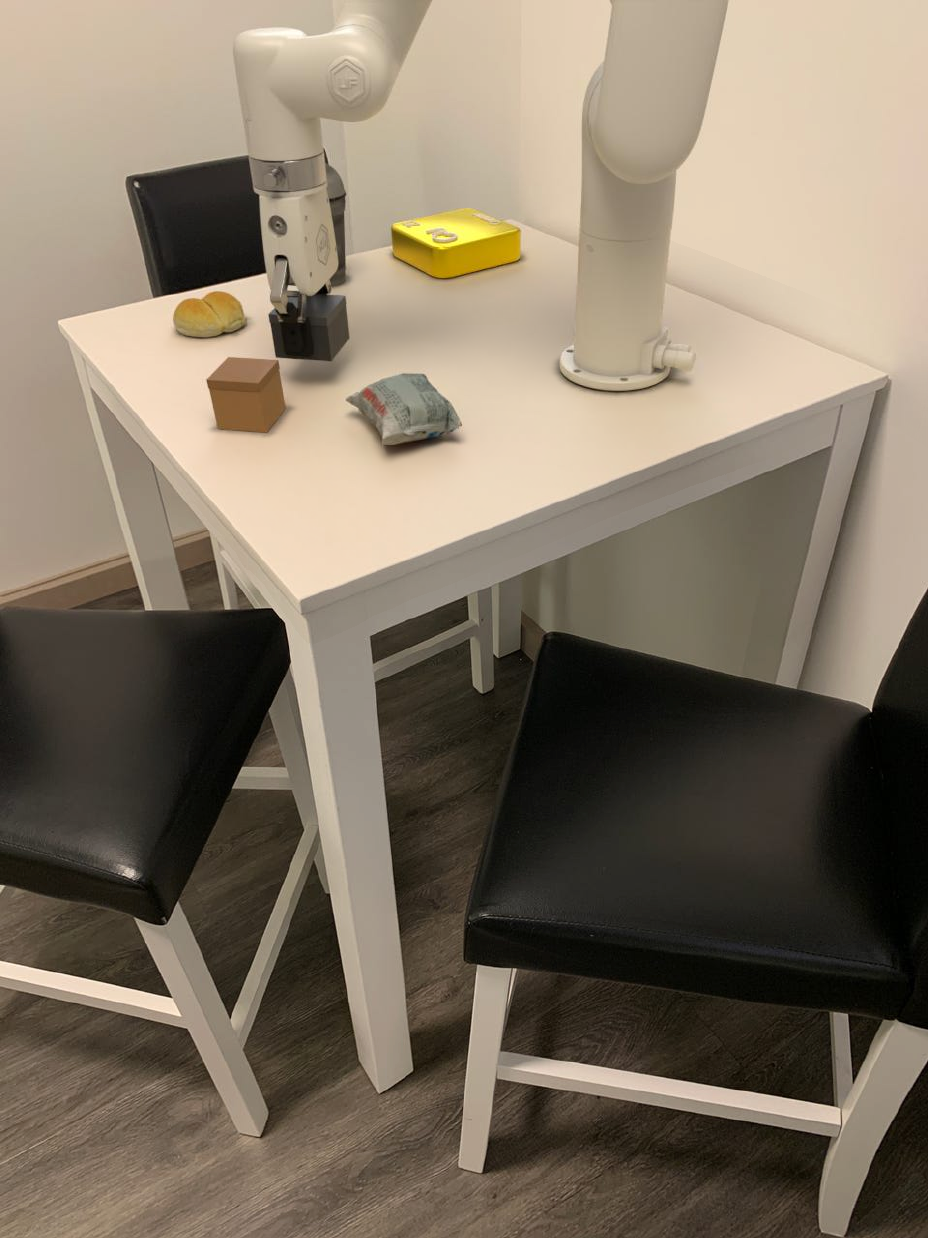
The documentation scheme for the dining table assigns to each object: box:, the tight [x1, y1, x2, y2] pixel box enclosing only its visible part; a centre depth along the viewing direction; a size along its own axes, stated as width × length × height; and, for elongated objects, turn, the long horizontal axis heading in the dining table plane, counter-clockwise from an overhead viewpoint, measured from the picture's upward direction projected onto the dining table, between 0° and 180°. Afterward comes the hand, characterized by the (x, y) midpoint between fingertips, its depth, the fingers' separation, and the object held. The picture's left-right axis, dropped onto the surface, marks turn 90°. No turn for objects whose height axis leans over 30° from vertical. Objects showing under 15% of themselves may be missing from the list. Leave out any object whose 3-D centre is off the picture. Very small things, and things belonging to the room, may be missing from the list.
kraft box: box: [205, 356, 287, 434], centre depth 98 cm, size 6×6×6 cm
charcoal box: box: [267, 294, 350, 362], centre depth 105 cm, size 7×7×5 cm
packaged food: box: [345, 372, 463, 446], centre depth 96 cm, size 9×12×5 cm
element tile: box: [390, 207, 522, 279], centre depth 138 cm, size 15×15×5 cm
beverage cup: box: [325, 162, 347, 287], centre depth 126 cm, size 7×7×20 cm
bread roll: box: [172, 290, 248, 338], centre depth 119 cm, size 8×9×4 cm
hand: (310, 340), depth 106 cm, fingers closed on charcoal box, 6 cm apart
